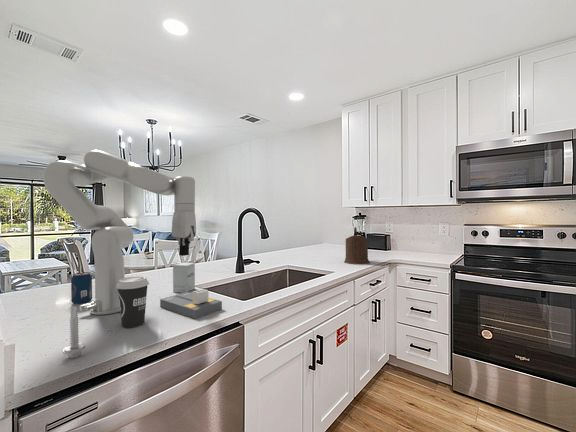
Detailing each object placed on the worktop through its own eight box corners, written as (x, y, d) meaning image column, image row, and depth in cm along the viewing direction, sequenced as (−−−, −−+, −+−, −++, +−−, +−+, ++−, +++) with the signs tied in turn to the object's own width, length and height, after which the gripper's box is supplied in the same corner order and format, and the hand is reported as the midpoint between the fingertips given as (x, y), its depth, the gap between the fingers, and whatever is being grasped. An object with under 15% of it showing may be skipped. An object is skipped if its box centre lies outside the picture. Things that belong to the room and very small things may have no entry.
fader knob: (197, 304, 102) (197, 293, 102) (192, 302, 103) (191, 291, 103) (208, 300, 106) (208, 289, 106) (203, 299, 108) (203, 288, 108)
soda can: (69, 302, 116) (69, 273, 115) (90, 298, 121) (89, 271, 121) (73, 306, 111) (72, 276, 111) (94, 302, 116) (93, 273, 116)
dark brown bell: (344, 264, 198) (344, 228, 197) (343, 258, 221) (343, 227, 221) (371, 264, 194) (371, 228, 194) (367, 259, 218) (367, 227, 218)
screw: (88, 355, 72) (64, 363, 69) (83, 349, 75) (60, 356, 72) (87, 305, 72) (63, 310, 68) (82, 301, 75) (59, 306, 72)
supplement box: (187, 292, 129) (186, 265, 129) (172, 292, 130) (172, 265, 130) (195, 288, 136) (195, 262, 136) (181, 287, 138) (181, 262, 137)
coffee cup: (126, 332, 86) (125, 283, 86) (110, 326, 91) (110, 280, 91) (155, 322, 94) (154, 277, 94) (139, 316, 99) (138, 274, 99)
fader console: (195, 318, 97) (195, 309, 97) (160, 306, 110) (160, 298, 110) (221, 309, 107) (221, 300, 107) (187, 299, 120) (186, 291, 119)
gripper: (165, 208, 111) (164, 254, 111) (187, 208, 102) (187, 258, 102) (181, 208, 117) (181, 252, 117) (204, 208, 108) (204, 256, 108)
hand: (184, 255), depth 110 cm, fingers closed
